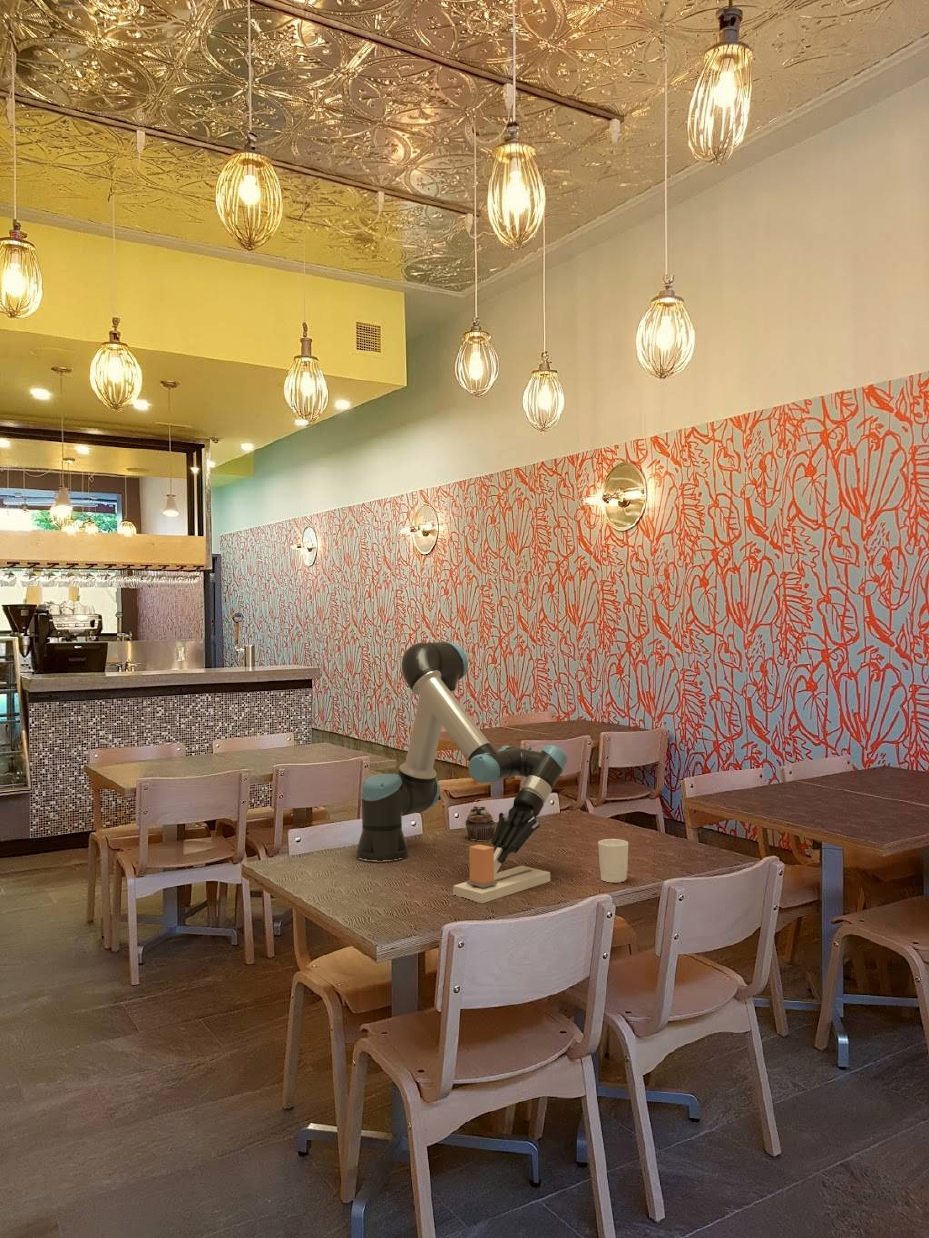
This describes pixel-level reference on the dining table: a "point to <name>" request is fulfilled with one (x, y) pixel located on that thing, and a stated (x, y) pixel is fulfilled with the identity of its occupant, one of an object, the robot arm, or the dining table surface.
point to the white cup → (613, 859)
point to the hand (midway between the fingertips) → (490, 872)
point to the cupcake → (480, 824)
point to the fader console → (503, 884)
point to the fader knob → (481, 866)
